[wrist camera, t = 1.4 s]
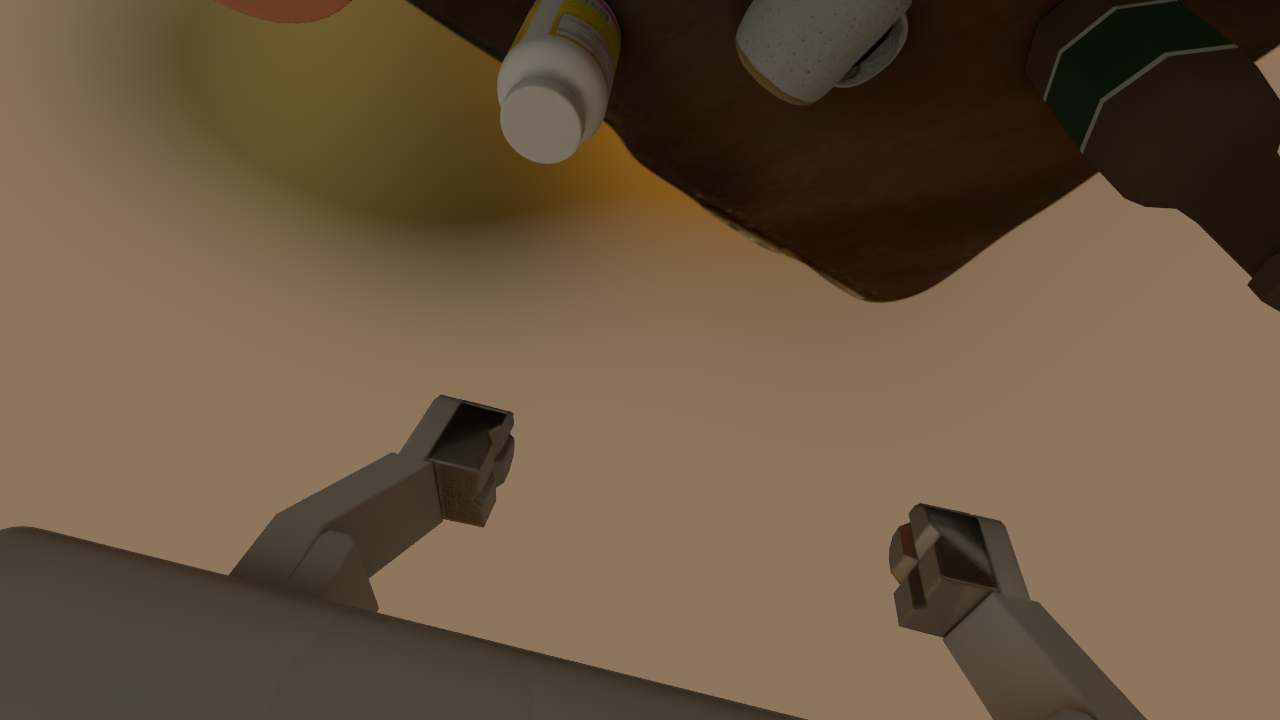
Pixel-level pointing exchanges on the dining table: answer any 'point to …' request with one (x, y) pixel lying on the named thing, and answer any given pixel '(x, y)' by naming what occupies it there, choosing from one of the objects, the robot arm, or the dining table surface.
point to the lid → (286, 9)
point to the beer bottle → (1169, 119)
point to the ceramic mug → (818, 43)
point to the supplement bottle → (558, 77)
